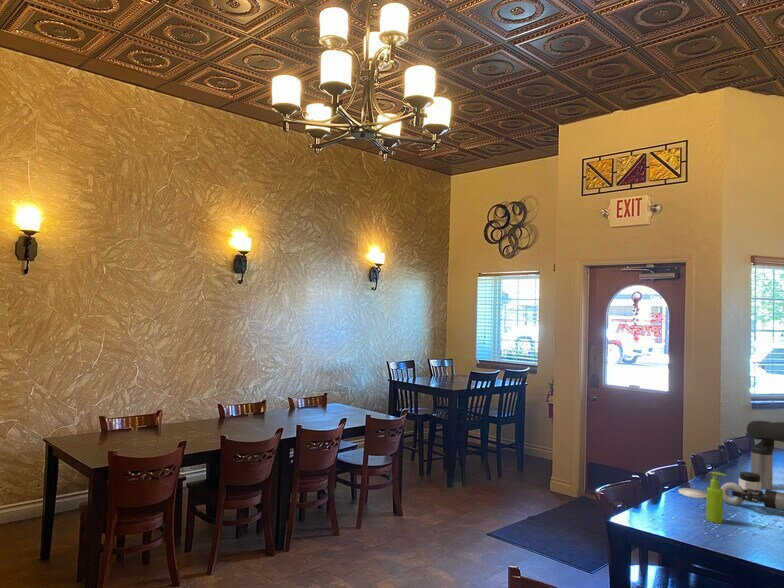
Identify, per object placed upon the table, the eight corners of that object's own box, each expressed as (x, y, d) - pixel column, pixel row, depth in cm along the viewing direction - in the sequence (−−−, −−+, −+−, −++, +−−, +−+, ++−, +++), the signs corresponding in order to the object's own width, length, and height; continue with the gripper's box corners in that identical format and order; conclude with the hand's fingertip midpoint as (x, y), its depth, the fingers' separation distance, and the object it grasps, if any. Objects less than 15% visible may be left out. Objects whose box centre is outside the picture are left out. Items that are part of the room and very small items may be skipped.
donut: (745, 506, 257) (746, 484, 257) (744, 508, 254) (744, 485, 255) (720, 501, 264) (721, 479, 264) (719, 502, 261) (719, 481, 261)
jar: (754, 504, 261) (754, 477, 262) (735, 498, 268) (736, 473, 268) (763, 501, 266) (764, 475, 267) (745, 496, 273) (745, 470, 273)
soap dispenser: (725, 525, 233) (725, 475, 233) (705, 521, 236) (706, 472, 237) (725, 520, 238) (726, 472, 238) (706, 517, 241) (707, 469, 242)
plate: (682, 488, 282) (682, 485, 282) (711, 494, 273) (712, 492, 273) (674, 493, 272) (674, 491, 272) (704, 500, 264) (704, 498, 264)
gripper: (780, 488, 253) (737, 480, 264) (775, 495, 242) (729, 486, 254) (780, 505, 253) (736, 496, 264) (774, 513, 242) (729, 503, 254)
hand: (733, 491), depth 259 cm, fingers open, 5 cm apart
